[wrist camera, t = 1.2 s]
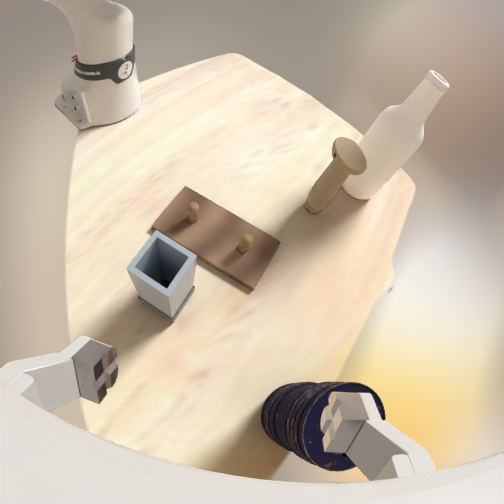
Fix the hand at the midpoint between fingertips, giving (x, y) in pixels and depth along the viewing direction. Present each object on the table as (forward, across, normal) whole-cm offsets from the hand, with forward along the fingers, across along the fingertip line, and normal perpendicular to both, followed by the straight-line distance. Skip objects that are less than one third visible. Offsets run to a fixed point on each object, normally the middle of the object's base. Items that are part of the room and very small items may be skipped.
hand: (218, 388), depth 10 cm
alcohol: (+53, -18, -11) cm, 57 cm away
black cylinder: (+23, -10, +23) cm, 34 cm away
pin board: (+36, +6, +2) cm, 37 cm away
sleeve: (+28, +11, +10) cm, 32 cm away
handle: (+45, -8, -4) cm, 46 cm away
